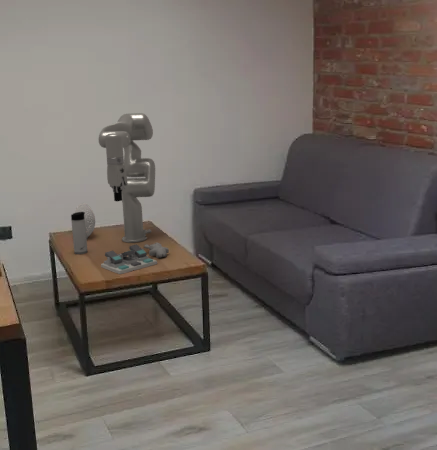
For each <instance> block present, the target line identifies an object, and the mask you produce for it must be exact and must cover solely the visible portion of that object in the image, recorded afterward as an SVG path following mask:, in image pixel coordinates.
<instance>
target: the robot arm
mask: <svg viewBox="0 0 437 450" xmlns="http://www.w3.org/2000/svg"><path fill="white" fill-rule="evenodd" d="M153 135H154V130H153V126H152V124H151V121H150V118H149V117H148V116H147V114H145V113H142V112H141V113H140V112H139V113H138V112H137V113H135V112H134V113H124V114H122V115H121V116H120V117H119V118H118V120H117V122H115V123H112V124H109V125H107V126H105V127H103V128H102V129H101V131H100V132H99V135H98V143H99V146H100V147H101V148H103V149H105V151H106V165H107V167H106V175H107V176H106V177H107V184H108V185H109V187H110V188H111V189H112V192H113V200H114V202H121V203H122V217H123V230H124V236H123V237H122V238H121V240H122V242H124V243H140V242H144V241H146V240H147V239H148V237H147V234H151V233H152V229H146V228H145V229H144V220H143V206H142V203H141V202H140V200H139V199H138V198H151V197H153V196H154V194H155V190H156V164H155V161H154V160H153V159H152V158H149V157H148V158H146V157H145V158H144V157H142V150H141V148H140V147H139V145H138V144H137V143H136V142H134V141H150V140H151V139H152V138H153Z"/></svg>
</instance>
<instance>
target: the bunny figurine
mask: <svg viewBox="0 0 437 450" xmlns="http://www.w3.org/2000/svg"><path fill="white" fill-rule="evenodd" d="M143 249H148V250H149V251H148V253H149V254H148V255H149V256H151V257H155V258H156V259H161V258H166V257H167V254H168V253H169V247H165V246H162V243H160V242H155V243H153V244H144V246H143Z"/></svg>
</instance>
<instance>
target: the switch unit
mask: <svg viewBox="0 0 437 450" xmlns="http://www.w3.org/2000/svg"><path fill="white" fill-rule="evenodd" d="M142 249H143V250H144V251H145V248H142ZM134 253H135V251H134ZM118 254H119V256H120V257H121V258H122V259H123V261H122V262H120V263H116V264H114V263H113V262H112V261H111V258H109V257H106V260H103V263H101V264H100V268H103V269H105V270H107V271H110V272H113V273H115V274H118V275H122V274H126V273H129V272H133V270H134V271H137V270H140V269H144V268H148V267H151V266H155V265H158V261H157V260H156V259H152V258H150V257H149V256H150V255H149V256H148V255H146V256H144V257H140V258H139V257H137V256H136V255H135V254H131V255H128V256H124V257H123V255H122V254H121V253H118Z"/></svg>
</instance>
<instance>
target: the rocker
mask: <svg viewBox="0 0 437 450" xmlns="http://www.w3.org/2000/svg"><path fill="white" fill-rule="evenodd" d="M118 254H119V253H116V252H115V251H114V250H109V251H105V252H104V256H105V257H106V258H107V257H109V258H111V261H112V262H113V263H114V264H116V263H120V262H122V261H123V259H122V258H121V257H120V256H119V255H118Z"/></svg>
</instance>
